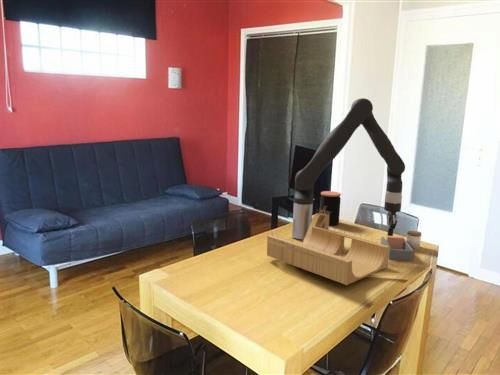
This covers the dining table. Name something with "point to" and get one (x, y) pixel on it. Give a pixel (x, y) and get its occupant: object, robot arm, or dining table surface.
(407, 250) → the grey tray
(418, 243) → the jar
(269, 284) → the dining table surface
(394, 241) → the pusher
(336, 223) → the coffee jar
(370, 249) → the skate ramp
